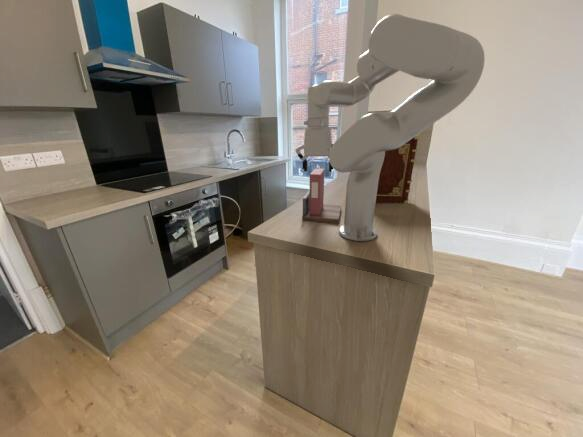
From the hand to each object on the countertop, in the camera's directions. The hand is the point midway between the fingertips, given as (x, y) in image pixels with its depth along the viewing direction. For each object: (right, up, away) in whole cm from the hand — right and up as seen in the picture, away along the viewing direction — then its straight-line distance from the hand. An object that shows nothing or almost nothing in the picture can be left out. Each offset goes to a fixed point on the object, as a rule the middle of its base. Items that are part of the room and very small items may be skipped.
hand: (317, 171), depth 94 cm
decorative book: (+34, -10, +23) cm, 42 cm away
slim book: (0, -15, +7) cm, 16 cm away
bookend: (-4, -15, +7) cm, 17 cm away
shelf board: (+3, -17, +7) cm, 18 cm away
